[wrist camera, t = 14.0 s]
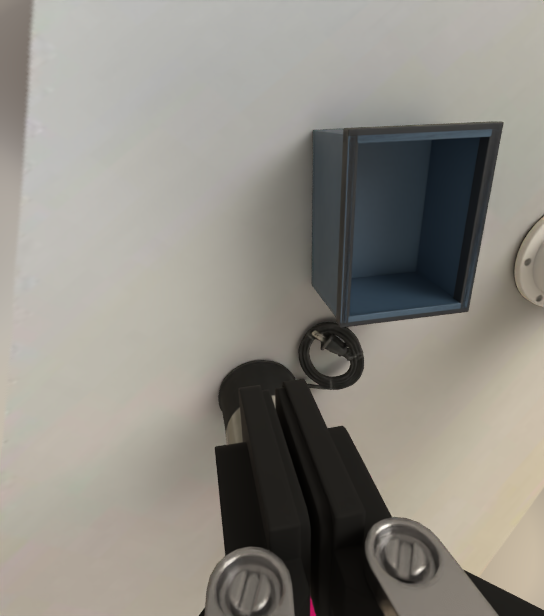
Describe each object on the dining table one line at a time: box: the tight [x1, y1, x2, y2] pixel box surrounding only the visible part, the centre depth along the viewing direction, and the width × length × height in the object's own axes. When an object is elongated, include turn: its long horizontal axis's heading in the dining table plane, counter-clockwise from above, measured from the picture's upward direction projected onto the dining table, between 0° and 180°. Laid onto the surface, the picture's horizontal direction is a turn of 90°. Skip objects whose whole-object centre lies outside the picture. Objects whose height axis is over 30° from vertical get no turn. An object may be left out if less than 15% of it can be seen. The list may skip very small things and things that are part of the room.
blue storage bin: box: [312, 122, 503, 327], centre depth 38 cm, size 9×16×12 cm
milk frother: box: [218, 322, 364, 445], centre depth 41 cm, size 14×16×15 cm
